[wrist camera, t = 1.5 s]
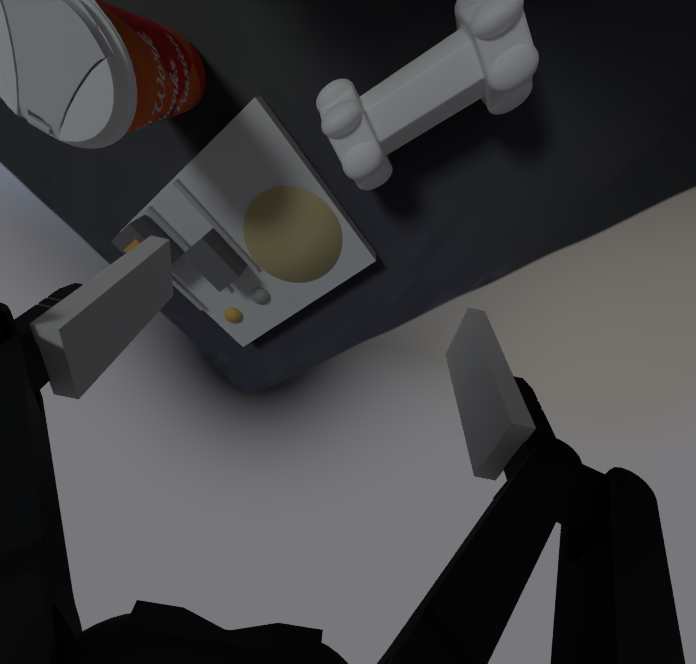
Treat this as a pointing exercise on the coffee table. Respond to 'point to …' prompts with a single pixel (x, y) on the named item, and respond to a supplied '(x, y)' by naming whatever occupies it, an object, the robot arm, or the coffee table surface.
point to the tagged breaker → (143, 236)
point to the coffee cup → (93, 69)
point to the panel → (256, 227)
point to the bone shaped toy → (432, 88)
